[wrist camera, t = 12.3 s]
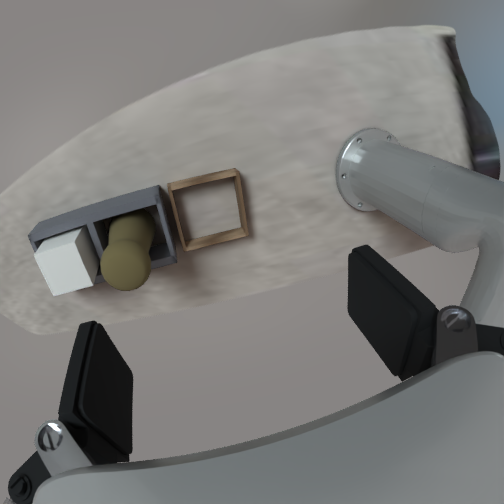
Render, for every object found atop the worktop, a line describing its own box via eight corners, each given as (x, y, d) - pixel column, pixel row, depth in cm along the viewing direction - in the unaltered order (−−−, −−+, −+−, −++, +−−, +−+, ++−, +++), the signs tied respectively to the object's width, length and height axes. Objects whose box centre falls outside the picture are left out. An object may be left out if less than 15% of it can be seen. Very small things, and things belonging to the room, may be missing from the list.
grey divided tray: (159, 185, 34) (158, 194, 31) (175, 247, 39) (177, 263, 35) (38, 222, 31) (27, 236, 28) (62, 278, 36) (54, 295, 32)
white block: (87, 217, 33) (74, 241, 27) (102, 256, 36) (93, 285, 30) (51, 229, 32) (33, 255, 26) (67, 266, 35) (53, 296, 29)
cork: (133, 258, 38) (127, 310, 28) (100, 228, 34) (81, 274, 25) (165, 228, 37) (168, 274, 28) (132, 195, 34) (121, 232, 25)
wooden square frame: (235, 168, 36) (239, 171, 34) (244, 229, 40) (248, 235, 38) (167, 183, 34) (167, 188, 33) (182, 244, 39) (183, 252, 37)
